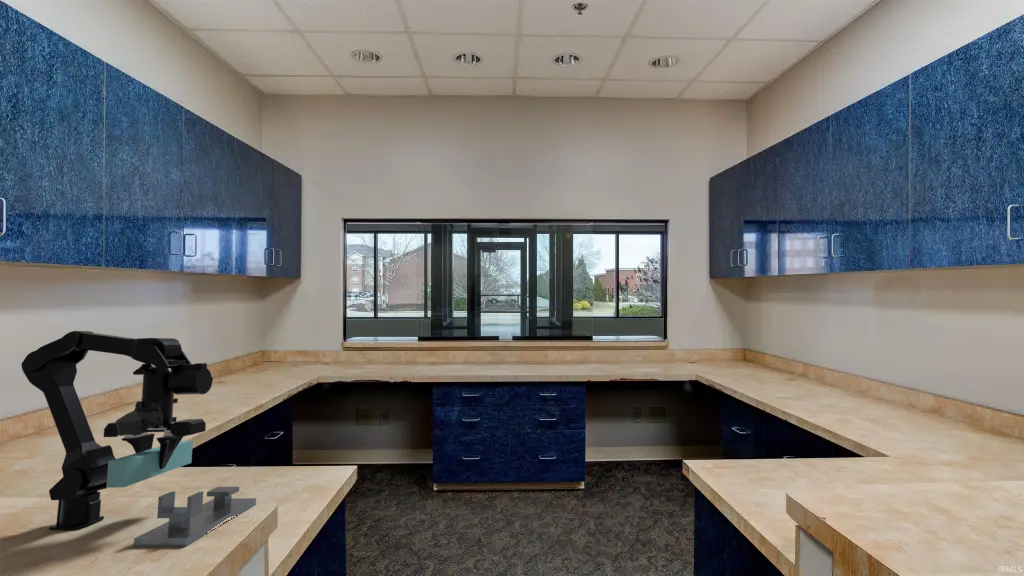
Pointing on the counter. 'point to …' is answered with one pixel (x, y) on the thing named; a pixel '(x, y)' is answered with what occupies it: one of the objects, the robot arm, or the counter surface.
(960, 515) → the counter surface
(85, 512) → the robot arm
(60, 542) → the counter surface
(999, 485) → the counter surface
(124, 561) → the counter surface
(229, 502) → the bracket stand
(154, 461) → the teal rail
